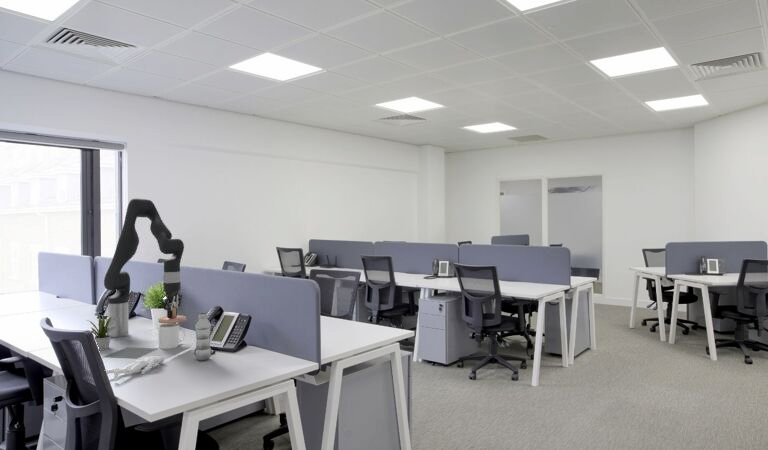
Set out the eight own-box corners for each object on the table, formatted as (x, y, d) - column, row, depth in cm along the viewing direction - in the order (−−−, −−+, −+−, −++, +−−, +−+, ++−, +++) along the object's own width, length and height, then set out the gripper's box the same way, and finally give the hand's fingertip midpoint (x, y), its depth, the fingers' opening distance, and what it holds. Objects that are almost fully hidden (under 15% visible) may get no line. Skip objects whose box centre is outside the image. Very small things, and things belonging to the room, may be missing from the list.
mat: (102, 358, 207) (102, 357, 207) (127, 348, 222) (127, 347, 222) (136, 360, 204) (136, 358, 204) (158, 350, 220) (158, 348, 220)
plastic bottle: (214, 358, 207) (214, 312, 207) (203, 362, 201) (203, 315, 201) (202, 356, 210) (202, 311, 209) (191, 361, 203) (191, 314, 203)
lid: (152, 322, 220) (152, 309, 220) (167, 317, 232) (167, 304, 232) (177, 323, 219) (177, 310, 219) (191, 318, 231) (191, 305, 231)
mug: (188, 346, 227) (188, 323, 227) (163, 351, 218) (163, 328, 218) (180, 343, 233) (180, 321, 233) (155, 348, 224) (155, 325, 224)
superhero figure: (119, 387, 175) (173, 368, 198) (120, 371, 175) (174, 355, 198) (97, 379, 180) (152, 362, 203) (99, 364, 180) (154, 348, 203)
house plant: (129, 348, 224) (128, 313, 224) (100, 355, 211) (100, 318, 211) (109, 344, 230) (108, 310, 230) (80, 351, 217) (80, 316, 217)
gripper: (173, 279, 233) (173, 314, 233) (155, 282, 219) (155, 320, 219) (187, 279, 232) (187, 314, 232) (170, 283, 218) (170, 320, 218)
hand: (172, 317), depth 226 cm, fingers closed on lid, 3 cm apart
